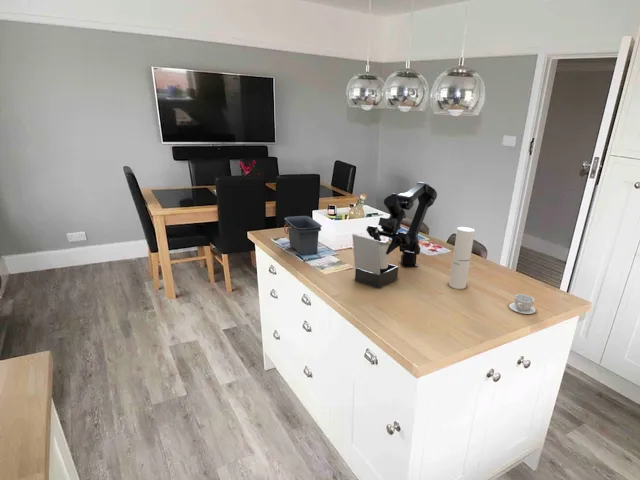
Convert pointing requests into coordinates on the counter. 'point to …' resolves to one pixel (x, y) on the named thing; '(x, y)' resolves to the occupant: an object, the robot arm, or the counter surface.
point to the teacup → (523, 304)
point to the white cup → (383, 254)
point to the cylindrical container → (461, 257)
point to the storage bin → (303, 234)
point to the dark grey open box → (377, 276)
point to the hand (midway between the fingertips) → (380, 252)
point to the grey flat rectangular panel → (366, 254)
